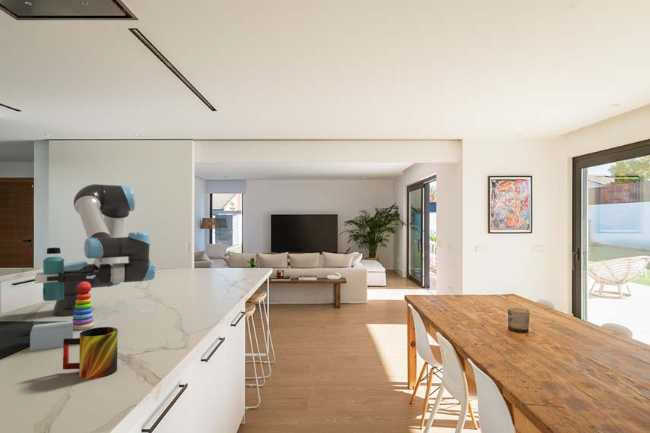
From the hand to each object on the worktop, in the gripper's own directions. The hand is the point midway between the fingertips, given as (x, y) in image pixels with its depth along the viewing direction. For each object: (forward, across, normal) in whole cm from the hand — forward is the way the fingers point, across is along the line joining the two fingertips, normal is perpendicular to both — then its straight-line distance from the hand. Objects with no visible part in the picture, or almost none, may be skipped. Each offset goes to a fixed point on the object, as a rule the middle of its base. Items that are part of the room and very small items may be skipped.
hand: (36, 277), depth 138 cm
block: (-5, 0, -24) cm, 24 cm away
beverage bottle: (-5, 0, -10) cm, 11 cm away
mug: (-16, -38, -24) cm, 47 cm away
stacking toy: (-14, +18, -24) cm, 33 cm away
